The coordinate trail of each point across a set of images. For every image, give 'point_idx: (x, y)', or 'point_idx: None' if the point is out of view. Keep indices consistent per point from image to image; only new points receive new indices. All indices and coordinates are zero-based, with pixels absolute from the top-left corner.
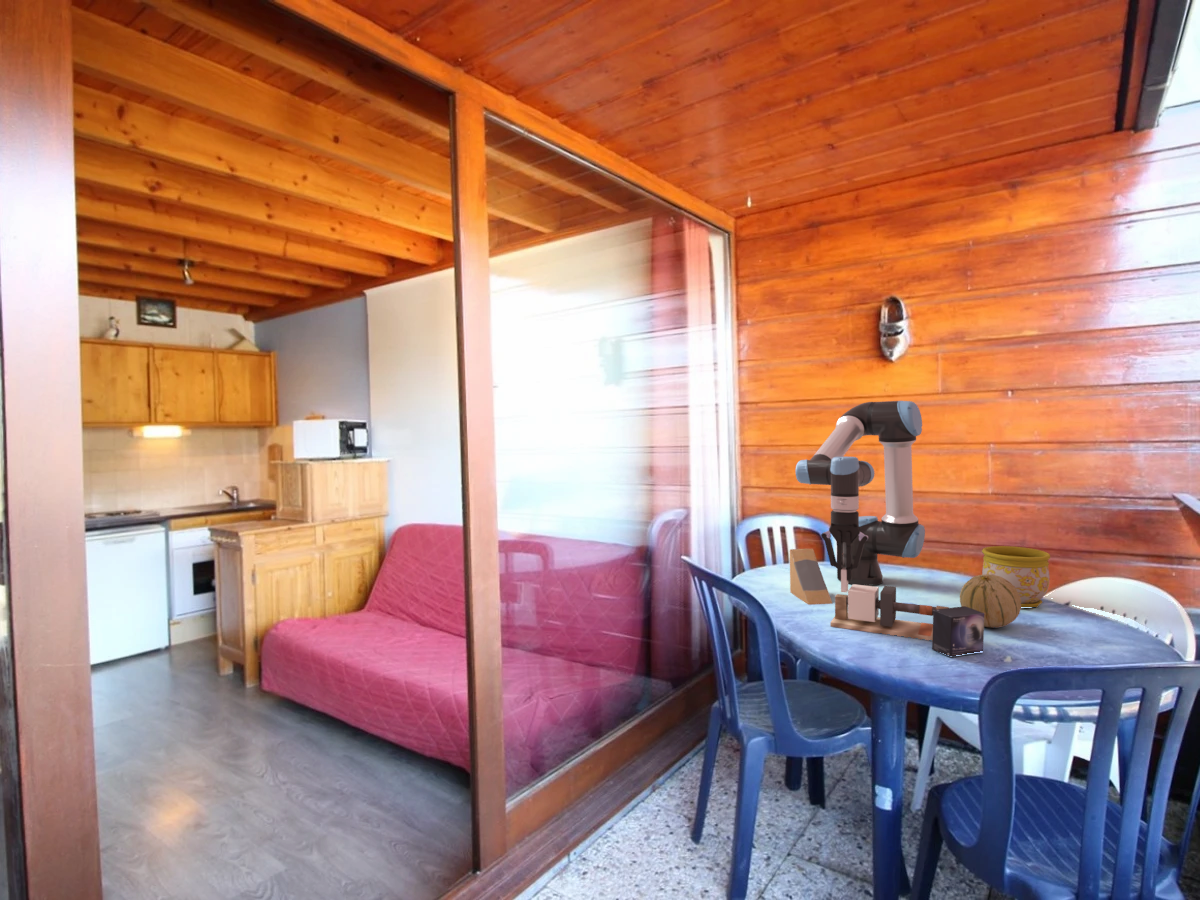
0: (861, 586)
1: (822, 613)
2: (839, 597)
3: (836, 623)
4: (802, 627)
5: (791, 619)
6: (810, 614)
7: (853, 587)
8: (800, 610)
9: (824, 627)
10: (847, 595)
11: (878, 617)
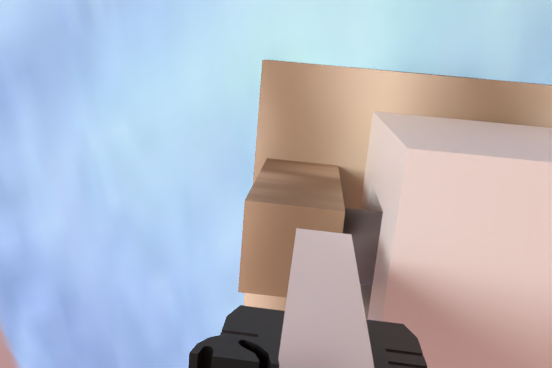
0: (508, 225)
1: (160, 40)
2: (277, 295)
3: (279, 308)
4: (110, 358)
5: (19, 242)
6: (94, 95)
7: (415, 299)
8: (13, 26)
9: (218, 321)
10: (342, 222)
11: (548, 93)
